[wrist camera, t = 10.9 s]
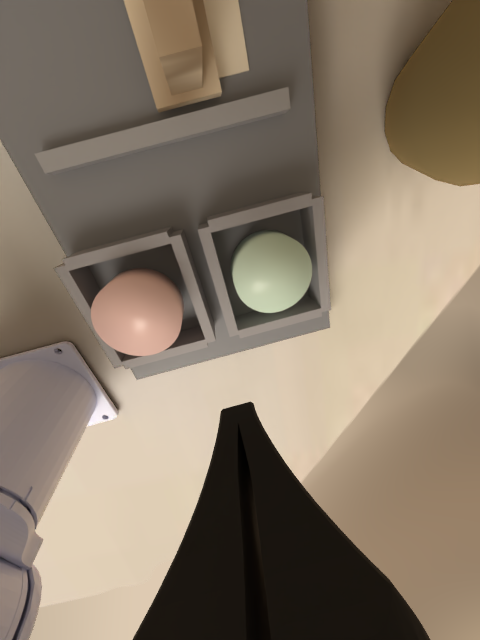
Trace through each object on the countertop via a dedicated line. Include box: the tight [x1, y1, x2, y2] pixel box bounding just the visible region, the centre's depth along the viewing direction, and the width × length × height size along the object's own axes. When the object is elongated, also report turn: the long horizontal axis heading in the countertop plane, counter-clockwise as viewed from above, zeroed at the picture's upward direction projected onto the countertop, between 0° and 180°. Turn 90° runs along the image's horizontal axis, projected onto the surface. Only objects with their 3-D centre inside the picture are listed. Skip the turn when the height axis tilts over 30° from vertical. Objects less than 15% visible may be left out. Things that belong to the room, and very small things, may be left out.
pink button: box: [91, 268, 184, 356], centre depth 14 cm, size 4×4×2 cm
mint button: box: [230, 230, 312, 313], centre depth 15 cm, size 4×4×2 cm
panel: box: [0, 0, 331, 380], centre depth 13 cm, size 15×22×4 cm
